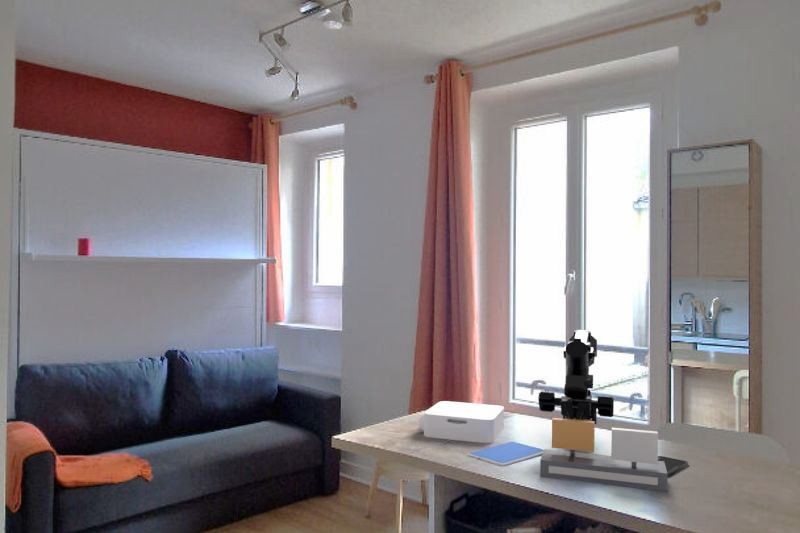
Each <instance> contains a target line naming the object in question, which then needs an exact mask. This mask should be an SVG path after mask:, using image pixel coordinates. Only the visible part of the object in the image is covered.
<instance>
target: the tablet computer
mask: <svg viewBox="0 0 800 533" xmlns="http://www.w3.org/2000/svg"><path fill="white" fill-rule="evenodd" d="M544 450H545V449H543V448H539V447H535V446H530V445H527V444H524V443H520V442H516V441H508V442H505V443H501V444H498V445H495V446H494V445H493V446H490V447H487V448H483V449H479V450H475V451H472V452H471V451H470V452H468V453H467V457H469V458H473V459H476V460H479V461H484V462H487V463H491V464H493V465H496V466H499V465H500V467H507V466H509V465H513V464H515V463H518V462H522V461H525V460H528V459H533V458H535V457H539V456H542V455H543V452H544Z"/></svg>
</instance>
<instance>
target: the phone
mask: <svg viewBox="0 0 800 533" xmlns="http://www.w3.org/2000/svg"><path fill="white" fill-rule="evenodd" d="M658 461H664V463H665V466H666V470H667V478H670V477H672V476H673V475H675V474H677V473H678V472H680V471H682V470H684V469H685V468H687V467H688V466H689V462H688V461H686V460H684V459H683V460H682V459H678V458H673V457H667V456H662V455H658Z"/></svg>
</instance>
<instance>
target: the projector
mask: <svg viewBox="0 0 800 533" xmlns="http://www.w3.org/2000/svg"><path fill="white" fill-rule="evenodd" d="M418 422H419V423H418V425H419V426H418V427H419V430H420V431H423V436H424V437H426V438H433V439H442V440H451V441H462V442H470V443H471V442H473V443H479V444H480V443H481V444H492V443H494V442H495V441H496V440H497V439H498V438H499V436H500V435H501V434H502V432H503V431H504V428H505V426H504V425H505V407H504V406H503V405H496V404H483V403H475V402H474V403H473V402H472V403H471V402H463V401H462V402H461V401H451V400H450V401H449V400H442V401H438V402H437V403H435V404H434V405H433V406H430V407H429V408H428V409H427V410H425V411H424V412H421V413H420V416H419V421H418ZM502 430H503V431H502ZM499 434H500V435H499Z"/></svg>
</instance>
